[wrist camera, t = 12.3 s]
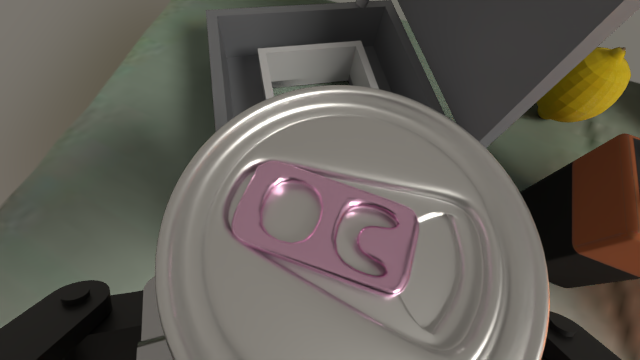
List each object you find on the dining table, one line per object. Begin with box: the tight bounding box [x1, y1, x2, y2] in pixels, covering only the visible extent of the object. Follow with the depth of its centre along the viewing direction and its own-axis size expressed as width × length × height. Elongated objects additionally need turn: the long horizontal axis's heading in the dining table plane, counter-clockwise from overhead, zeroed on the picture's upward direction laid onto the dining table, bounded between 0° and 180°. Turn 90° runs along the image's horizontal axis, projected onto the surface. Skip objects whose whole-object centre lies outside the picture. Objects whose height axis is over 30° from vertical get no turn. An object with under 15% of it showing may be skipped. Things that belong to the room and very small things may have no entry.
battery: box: [520, 134, 640, 288], centre depth 19 cm, size 4×7×10 cm, turn 159°
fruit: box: [537, 47, 631, 122], centre depth 26 cm, size 6×6×8 cm
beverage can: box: [155, 85, 550, 360], centre depth 11 cm, size 6×6×15 cm
